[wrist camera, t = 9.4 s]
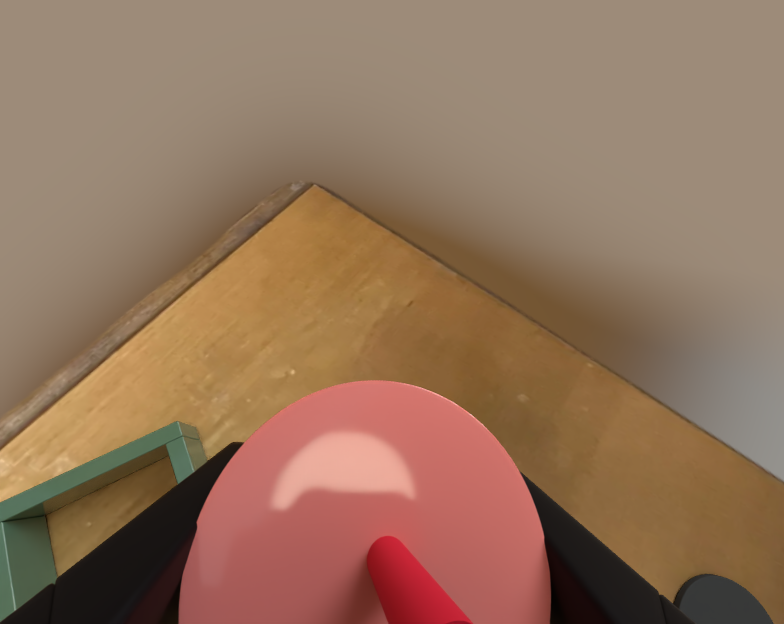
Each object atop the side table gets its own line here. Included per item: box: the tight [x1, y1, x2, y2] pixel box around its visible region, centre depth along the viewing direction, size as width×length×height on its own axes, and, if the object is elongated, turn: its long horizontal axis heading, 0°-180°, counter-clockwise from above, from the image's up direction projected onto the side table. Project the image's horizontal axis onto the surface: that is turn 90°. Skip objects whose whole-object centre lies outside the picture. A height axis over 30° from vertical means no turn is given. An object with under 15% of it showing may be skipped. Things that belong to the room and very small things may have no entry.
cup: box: [179, 381, 551, 624], centre depth 8 cm, size 5×5×12 cm
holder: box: [0, 421, 207, 622], centre depth 16 cm, size 8×8×2 cm
